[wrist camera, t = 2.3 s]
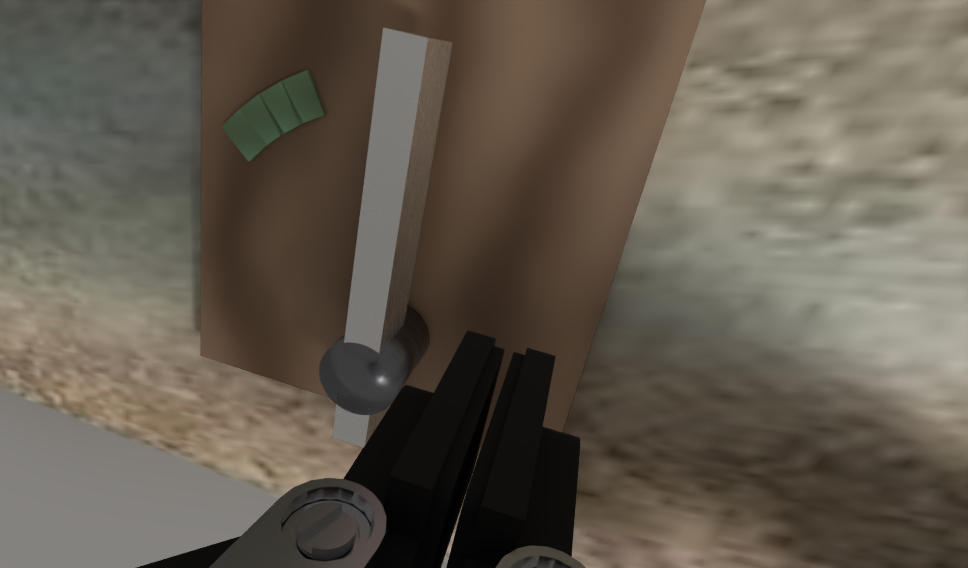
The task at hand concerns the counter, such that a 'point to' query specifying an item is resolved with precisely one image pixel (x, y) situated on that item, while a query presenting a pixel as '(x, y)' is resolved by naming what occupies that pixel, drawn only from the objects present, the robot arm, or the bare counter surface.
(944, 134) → the counter surface
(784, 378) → the counter surface
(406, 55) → the dial pointer
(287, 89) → the dial board
